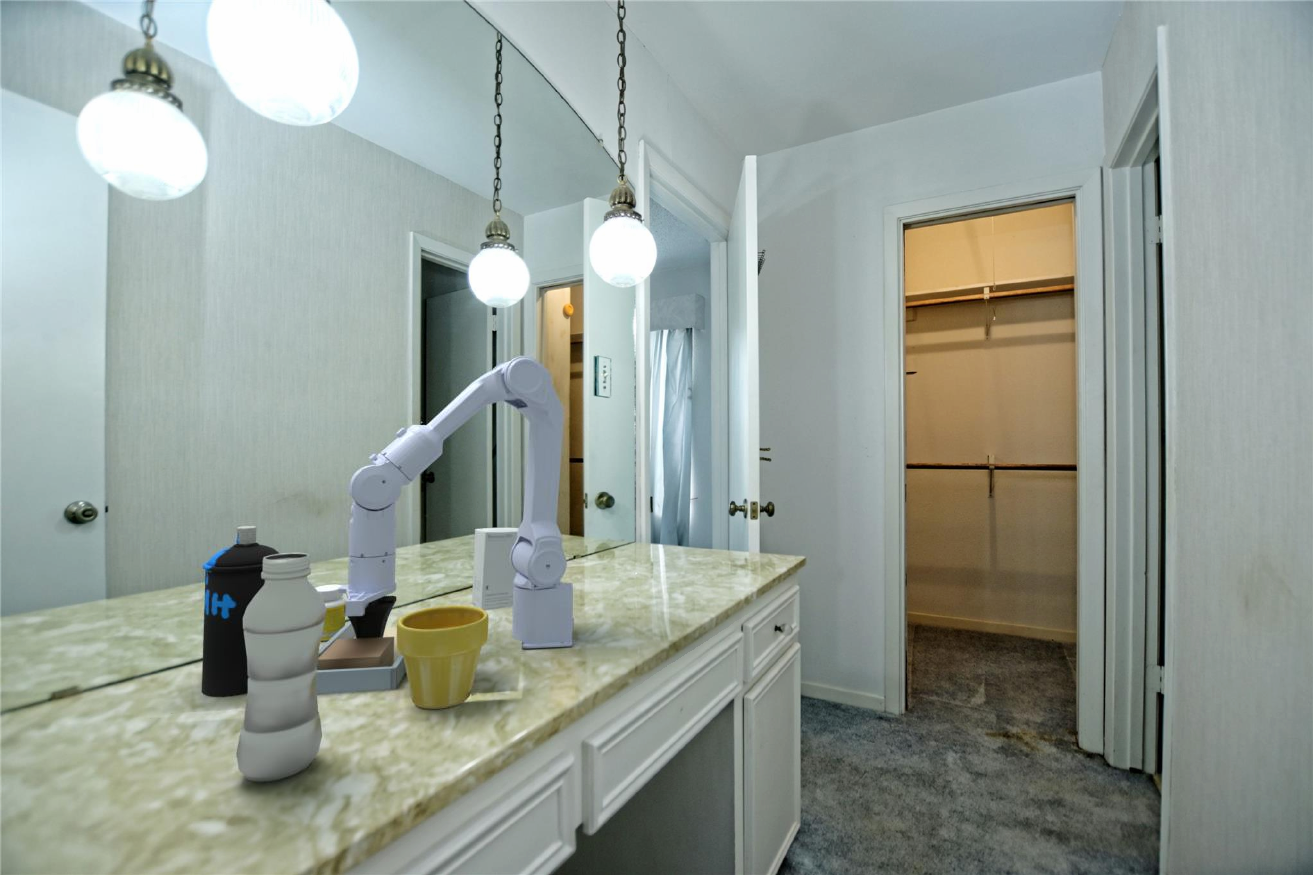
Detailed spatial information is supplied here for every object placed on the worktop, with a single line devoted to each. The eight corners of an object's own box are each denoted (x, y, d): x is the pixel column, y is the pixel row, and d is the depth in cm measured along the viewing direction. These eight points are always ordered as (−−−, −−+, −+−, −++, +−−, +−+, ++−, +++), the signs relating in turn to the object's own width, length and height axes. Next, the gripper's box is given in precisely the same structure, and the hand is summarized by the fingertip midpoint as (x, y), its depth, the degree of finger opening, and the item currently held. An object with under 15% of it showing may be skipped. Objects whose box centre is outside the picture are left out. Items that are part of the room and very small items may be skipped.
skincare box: (481, 616, 100) (483, 532, 100) (470, 607, 105) (472, 527, 105) (526, 609, 105) (528, 529, 105) (513, 601, 110) (515, 524, 110)
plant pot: (419, 677, 74) (421, 602, 74) (497, 680, 73) (499, 605, 73) (377, 715, 63) (379, 628, 63) (468, 719, 63) (470, 631, 63)
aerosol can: (274, 671, 75) (279, 520, 75) (289, 692, 69) (293, 528, 69) (194, 689, 69) (199, 525, 69) (202, 713, 63) (208, 534, 63)
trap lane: (464, 630, 92) (465, 609, 92) (439, 694, 69) (439, 665, 69) (357, 635, 89) (358, 613, 89) (292, 703, 66) (293, 673, 66)
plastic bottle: (262, 752, 55) (269, 549, 56) (334, 751, 56) (340, 550, 56) (217, 793, 49) (224, 563, 49) (299, 791, 50) (305, 564, 50)
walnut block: (393, 662, 76) (394, 636, 76) (378, 685, 69) (379, 656, 69) (336, 665, 74) (337, 639, 74) (315, 688, 68) (316, 659, 68)
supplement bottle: (351, 638, 87) (353, 584, 87) (330, 649, 83) (332, 592, 83) (322, 637, 88) (324, 583, 88) (300, 647, 83) (302, 590, 83)
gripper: (357, 544, 83) (355, 636, 83) (319, 565, 69) (316, 677, 69) (409, 543, 84) (406, 634, 84) (381, 564, 70) (378, 673, 70)
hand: (369, 653), depth 76 cm, fingers closed
